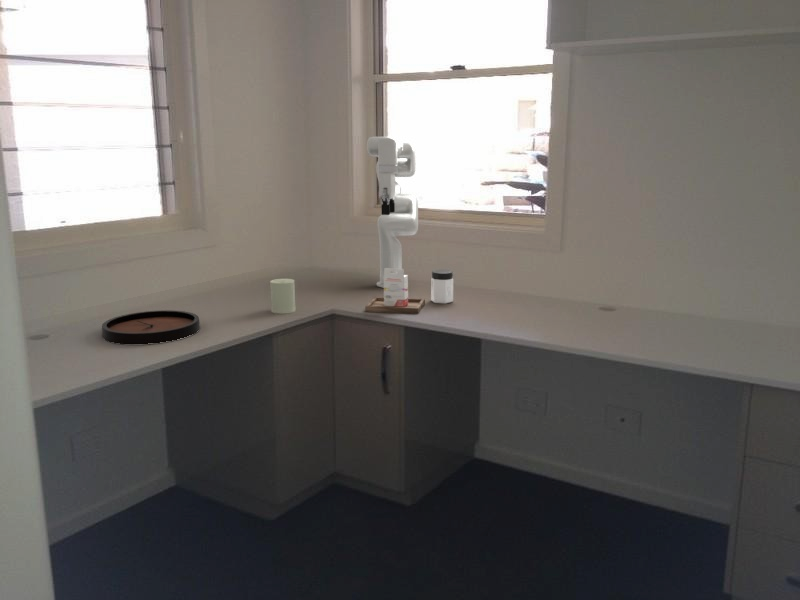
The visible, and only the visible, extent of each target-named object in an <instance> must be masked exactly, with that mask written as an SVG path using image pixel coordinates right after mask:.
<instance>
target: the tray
mask: <svg viewBox="0 0 800 600" xmlns="http://www.w3.org/2000/svg"><path fill="white" fill-rule="evenodd" d="M425 304H426V300H425V298H410V297H408V305H407V306H405V307H396V306H384V296H383V297H382V296H379V297H378V296H374V298H372V300H370V301H369V302H368V304H366V306H365V312H371V313H391V314H393V313H394V314H417V315H418V314H420V311H422V308H423V307H424V306H425Z"/></svg>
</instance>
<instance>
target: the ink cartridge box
mask: <svg viewBox="0 0 800 600" xmlns="http://www.w3.org/2000/svg"><path fill="white" fill-rule="evenodd" d="M391 271H395V272H397V273H390V272H391ZM408 277H409V275H408V274H405V269H404V268H402V269H393V268H384V288H383V297H384V306H396V307H405V306H407V305H408V298H409V278H408Z"/></svg>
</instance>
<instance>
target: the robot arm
mask: <svg viewBox="0 0 800 600" xmlns="http://www.w3.org/2000/svg"><path fill="white" fill-rule="evenodd" d="M366 151H367V153H368V155H369V156H370V157H375V158H376V157H377V158H378V159H377V162H376V164H375V168H376V169H375V171H376V177H377V180H378V184H379V185H378V187H379V188H378V199H380V200H381V206H380V207H381V209H380V210H381V215H380V216H378V218H377V220H376V221H377V231H378V238H379V281H377V282H376V286H377V287H379V288H383V289H384V268H393V269H403V265H402V264H403V258H402V257H403V255H402V252H403V249H402V248H403V247H402V243H401V242H400V241H399V239H398V238H397V236H398V237H399V236H401V237H402V236H407V237H408V236H414V235H416V234H417V233H418V230H419V203H418V199H417V197H416V195H414V194H407V193H406V194H405V193H404V194H403V193H402V187H401V186H400V185H399V183H398V182H397V181H396V178H410V177H413V176H414V175H415V173H416V148H415V144H414V141H413V140H411V138H400V137H398V136H370V137H368V139H367V141H366ZM390 273H397V272H395V271H391V272H390Z"/></svg>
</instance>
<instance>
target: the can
mask: <svg viewBox="0 0 800 600" xmlns="http://www.w3.org/2000/svg"><path fill="white" fill-rule="evenodd" d="M269 285H270V302H271V304H270V305H271V307H270V308H271V310H270V312H271V313H273V314H277V315H279V314H280V315H286V314H292V313H294V312H296V311H297V309H296V295H295V294H296V292H295V279H292V278H276V279H271V280H270V281H269Z"/></svg>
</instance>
